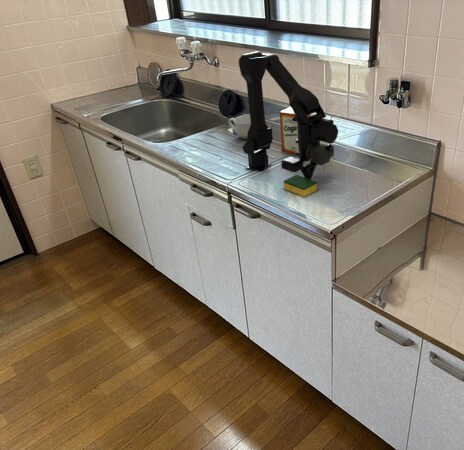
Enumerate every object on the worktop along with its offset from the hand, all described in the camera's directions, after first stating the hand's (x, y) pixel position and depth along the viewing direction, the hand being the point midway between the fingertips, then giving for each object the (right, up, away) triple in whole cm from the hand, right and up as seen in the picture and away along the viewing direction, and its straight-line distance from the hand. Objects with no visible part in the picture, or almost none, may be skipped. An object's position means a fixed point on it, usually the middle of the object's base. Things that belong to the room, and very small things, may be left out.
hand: (308, 181), depth 155 cm
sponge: (-3, -3, -2) cm, 4 cm away
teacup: (-25, +27, +43) cm, 56 cm away
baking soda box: (-3, +14, +28) cm, 31 cm away
